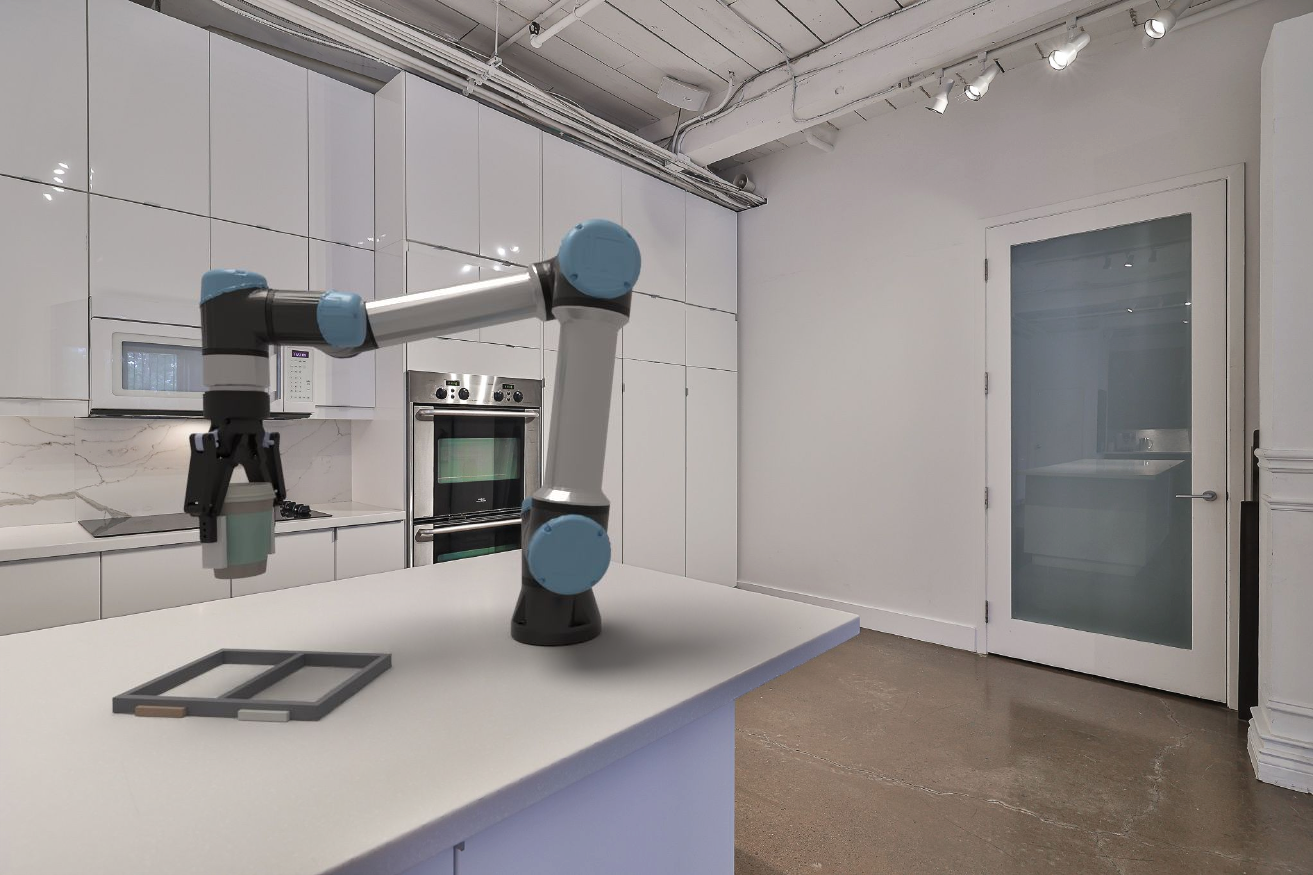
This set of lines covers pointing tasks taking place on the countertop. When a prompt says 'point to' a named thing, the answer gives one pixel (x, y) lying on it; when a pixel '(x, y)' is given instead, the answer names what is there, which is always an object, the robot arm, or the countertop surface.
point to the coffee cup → (247, 529)
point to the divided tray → (252, 686)
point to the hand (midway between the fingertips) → (240, 560)
